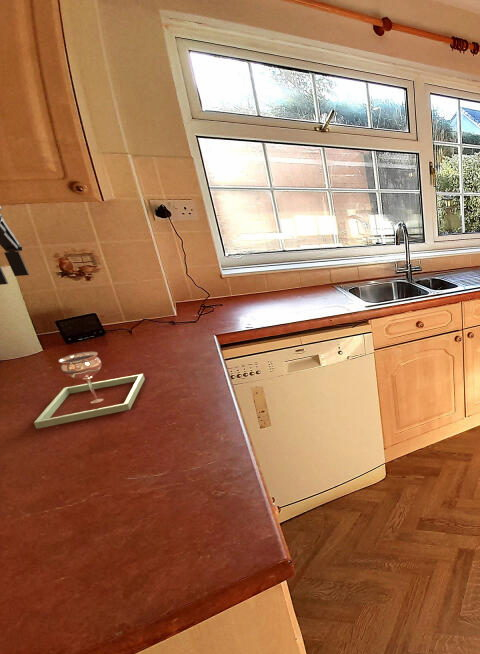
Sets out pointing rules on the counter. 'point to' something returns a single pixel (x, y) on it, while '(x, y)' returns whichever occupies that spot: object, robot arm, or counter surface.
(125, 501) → the counter surface
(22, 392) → the counter surface
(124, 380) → the green rectangular frame
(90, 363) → the wineglass
